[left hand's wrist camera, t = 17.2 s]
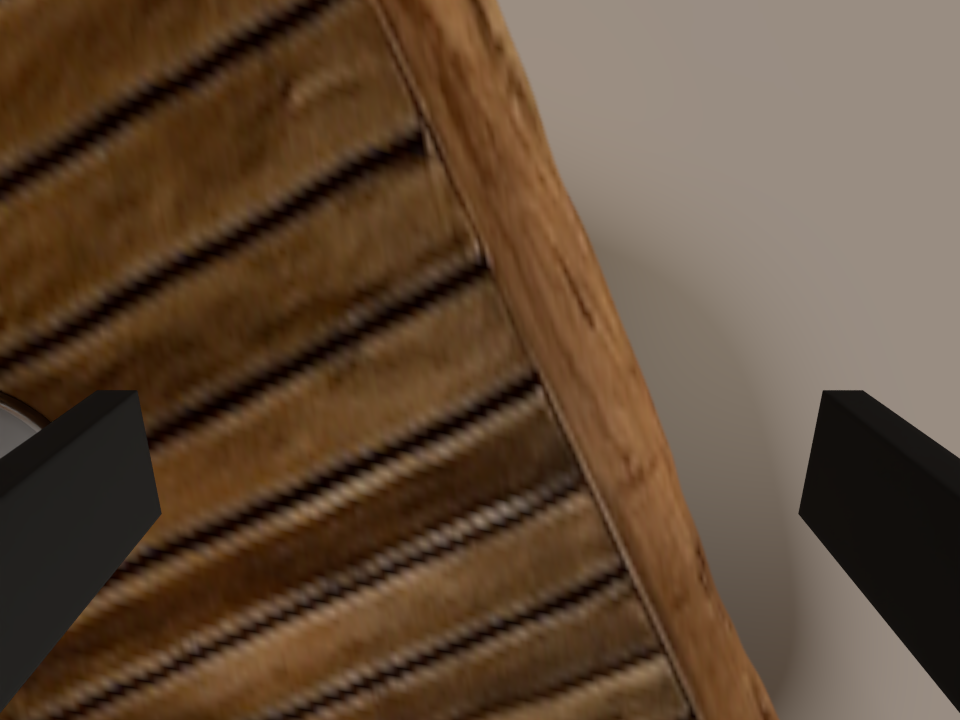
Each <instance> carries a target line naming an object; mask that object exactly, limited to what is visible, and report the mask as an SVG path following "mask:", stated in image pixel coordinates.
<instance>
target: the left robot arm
mask: <svg viewBox="0 0 960 720" xmlns="http://www.w3.org/2000/svg"><path fill="white" fill-rule="evenodd" d="M161 514H162V513H161V508H160V503H159V498H158V493H157V488H156V483H155V478H154V473H153V468H152V463H151V458H150V453H149V448H148V443H147V438H146V433H145V428H144V423H143V418H142V412H141V407H140V402H139V397H138V392H137V390H97V391H96V392H94V393H93V394H91V395H90V396H88V397H87V398H86V399H84V400H83V401H81V402H80V403H79V404H77V405H76V406H74V407H73V408H71V409H70V410H69V411H67V412H66V413H64V414H63V415H61V416H60V417H59V418H57V419H56V420H54V421H53V422H52V423H51V422H50V421H48V420H47V419H46V418H45V417H43V416H42V415H41V414H39V413H38V412H37V411H35V410H34V409H32V408H31V407H29V406H27V405H26V404H24V403H22V402H20V401H18V400H16V399H14V398H12V397H10V396H8V395H5V394H3V393H0V712H1V711H2V710H3V709H4V708H5V706H6V705H7V704H8V703H9V701H10V700H11V699H12V698H13V696H14V695H15V694H16V693H17V692H18V690H19V689H20V688H21V687H22V685H23V684H24V683H25V682H26V680H27V679H28V678H29V677H30V675H31V674H32V673H33V672H34V671H35V669H36V668H37V667H38V666H39V664H40V663H41V662H42V661H43V659H44V658H45V657H46V656H47V655H48V653H49V652H50V651H51V650H52V648H53V647H54V646H55V645H56V643H57V642H58V641H59V640H60V638H61V637H62V636H63V635H64V634H65V632H66V631H67V630H68V629H69V627H70V626H71V625H72V624H73V622H74V621H75V620H76V619H77V618H78V616H79V615H80V614H81V613H82V611H83V610H84V609H85V608H86V606H87V605H88V604H89V603H90V601H91V600H92V599H93V598H94V597H95V595H96V594H97V593H98V592H99V590H100V589H101V588H102V587H103V585H104V584H105V583H106V582H107V580H108V579H109V578H110V577H111V576H112V574H113V573H114V572H115V571H116V569H117V568H118V567H119V566H120V564H121V563H122V562H123V561H124V560H125V558H126V557H127V556H128V555H129V553H130V552H131V551H132V550H133V548H134V547H135V546H136V545H137V543H138V542H139V541H140V540H141V539H142V537H143V536H144V535H145V534H146V532H147V531H148V530H149V529H150V527H151V526H152V525H153V524H154V523H155V521H156V520H157V519H158V518H159V516H160V515H161ZM799 515H800V516H801V517H802V519H803V520H804V521H805V523H806V524H807V525H808V526H809V527H810V529H811V530H812V531H813V532H814V534H815V535H816V536H817V537H818V539H819V540H820V541H821V542H822V543H823V545H824V546H825V547H826V548H827V550H828V551H829V552H830V553H831V555H832V556H833V557H834V558H835V559H836V561H837V562H838V563H839V564H840V566H841V567H842V568H843V569H844V571H845V572H846V573H847V574H848V576H849V577H850V578H851V579H852V580H853V582H854V583H855V584H856V585H857V587H858V588H859V589H860V590H861V592H862V593H863V594H864V595H865V597H866V598H867V599H868V600H869V601H870V603H871V604H872V605H873V606H874V608H875V609H876V610H877V611H878V613H879V614H880V615H881V616H882V618H883V619H884V620H885V621H886V622H887V624H888V625H889V626H890V627H891V629H892V630H893V631H894V632H895V634H896V635H897V636H898V637H899V638H900V640H901V641H902V642H903V643H904V645H905V646H906V647H907V648H908V650H909V651H910V652H911V653H912V655H913V656H914V657H915V658H916V659H917V661H918V662H919V663H920V664H921V666H922V667H923V668H924V669H925V671H926V672H927V673H928V674H929V675H930V677H931V678H932V679H933V680H934V682H935V683H936V684H937V685H938V687H939V688H940V689H941V690H942V692H943V693H944V694H945V695H946V696H947V698H948V699H949V700H950V701H951V703H952V704H953V705H954V706H955V708H956V709H957V710H958V711H959V712H960V458H958V457H957V456H955V455H954V454H952V453H951V452H950V451H948V450H947V449H945V448H944V447H943V446H941V445H940V444H938V443H937V442H935V441H934V440H933V439H931V438H930V437H928V436H927V435H926V434H924V433H923V432H921V431H920V430H918V429H917V428H916V427H914V426H913V425H911V424H910V423H908V422H907V421H906V420H904V419H903V418H901V417H900V416H899V415H897V414H896V413H894V412H893V411H891V410H890V409H889V408H887V407H886V406H884V405H883V404H881V403H880V402H879V401H877V400H876V399H874V398H873V397H871V396H870V395H869V394H867V393H866V392H864V391H863V390H823V392H822V398H821V402H820V407H819V413H818V418H817V423H816V428H815V433H814V438H813V443H812V448H811V453H810V458H809V463H808V468H807V473H806V478H805V483H804V488H803V493H802V498H801V504H800V508H799Z"/></svg>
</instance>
